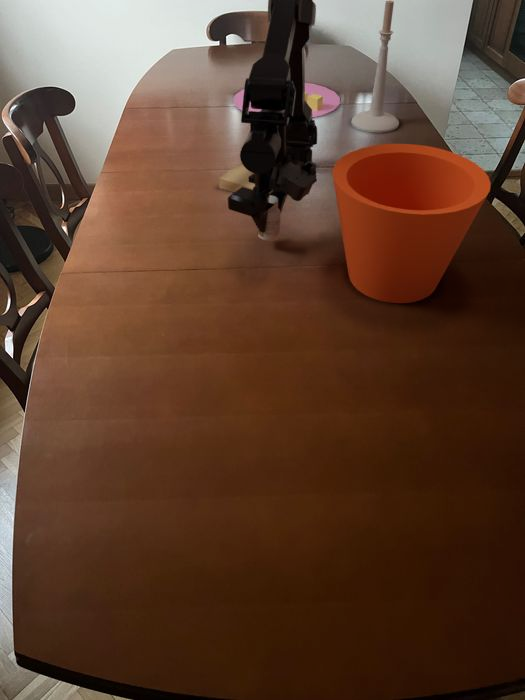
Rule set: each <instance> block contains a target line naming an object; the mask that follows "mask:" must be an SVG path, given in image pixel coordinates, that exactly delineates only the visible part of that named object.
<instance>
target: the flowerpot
mask: <svg viewBox="0 0 525 700" xmlns="http://www.w3.org/2000/svg"><path fill="white" fill-rule="evenodd" d="M332 181H333V184H334V191H335V197H336V198H335V199H336V204H337V211H338V216H339V223H340V229H341V236H342V241H343V242H342V243H343V248H344V254H345V260H346V267H347V274H348V277H349V281H350V283H351V284H352V285H353V287H354V288H355V289H356V290H357V291H358V292H360V293H362V295H364V296H366V297H368V298H371V299H373V300H376V301H380V302H384V303H391V304H410V303H415V302H418V301H421V300H424V299H426V298H428V297H429V296H431V295H432V294H433V293H434V292H435V290H436V289H437V287H438V285H439V283H440V281H441V280H442V278H443V276H444V275H445V273H446V271H447V269H448V267H449V265H450V264H451V261H452V260H453V258H454V256H455V254H456V253H457V250H458V249H459V247H460V246H461V244H462V242H463V240H464V238H465V236H466V235H467V232H468V231H469V229H470V228H471V225H472V224H473V222H474V220H475V218H476V216H477V215H478V213H479V211H480V209H481V207H482V206H483V204H484V202H485V200H486V199H487V197H488V195H489V193H490V192H491V184H492V183H491V179H490V177H489V175H488V174H487V173H486V171H485V170H484V169H483V168H482V167H481V166H480V165H478V164H477V163H475V162H474V161H472V160H470V159H469V158H467V157H465V156H462V155H460V154H458V153H455V152H452V151H449V150H447V149H442V148H439V147H433V146H428V145H422V144H413V143H384V144H375V145H370V146H366V147H362V148H358V149H355V150H352V151H350V152H348V153H346V154H345V155H343V156H341V158H339V159H338V160H337V161H336V162H335V164H334V166H333V169H332Z"/></svg>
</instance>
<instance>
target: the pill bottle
mask: <svg viewBox="0 0 525 700" xmlns="http://www.w3.org/2000/svg"><path fill="white" fill-rule="evenodd" d="M269 203H272V204H274V206H273V207H271V208H270V209H269V210H268V215H267V224H266V230H265V232H264V233H263V232H260V231H259V229H258V228H257V236H258V238H259V239H260V240H263V241H265V242H270V241H276V240H277V239H279V238H280V236H281V214H280V210H279V208H278V198H277V197H275V196H271V195H270V197H269Z"/></svg>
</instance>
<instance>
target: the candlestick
mask: <svg viewBox="0 0 525 700" xmlns="http://www.w3.org/2000/svg"><path fill="white" fill-rule="evenodd" d="M394 5H395V1H394V0H385V3H384V12H383V22H382V29H381V30H379V31H378V33H379V35H380V37H379V40H380V43H381V45H380V47H379V53H378V58H377V59H378V60H377V65H376V72H375V76H374V77H375V78H374V82H373V83H374V84H373V90H372V95H371V103H370V106H369V107H370V108H369V110H366V111H365V110H364V111H361V112H359V113H357V114H355V115H354V116H353V117H352V119H351V126H353V127H354V128H355V129H358V130H359V131H362V132H366V133H371V134H372V133H373V134H383V133H389V132H392V131H395V130H397V129H398V128H399V125H400V121H399V119H398V118H397V117H396V116H395V115H393V114H391V113H389V112H387V111H384V107H385V106H384V104H385V93H386V79H387V66H388V54H389V42H390V41H391V40H392V38H391V36H392V34H394V31H393V30H391V28H392V20H393V13H394Z"/></svg>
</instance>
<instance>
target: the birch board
mask: <svg viewBox="0 0 525 700" xmlns="http://www.w3.org/2000/svg"><path fill="white" fill-rule="evenodd" d="M252 174H253V173H252V172H250V171H248V170H247V169H246V168H245V167H244V166H243V164H242V162H240V163H238V164H237V165H235V166H234V167H232V168H231V169H229V170H228V171H226V172H225V173H224V174H222V175H221V176H219V177H218V189H221V190H224V191H228V192H231V193H234V192H236V191H237V190H238V189H240V188H241V187H245V188H248V189H252V188H253V187H255V184H254V183H250V182H249V176H250V175H252Z"/></svg>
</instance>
